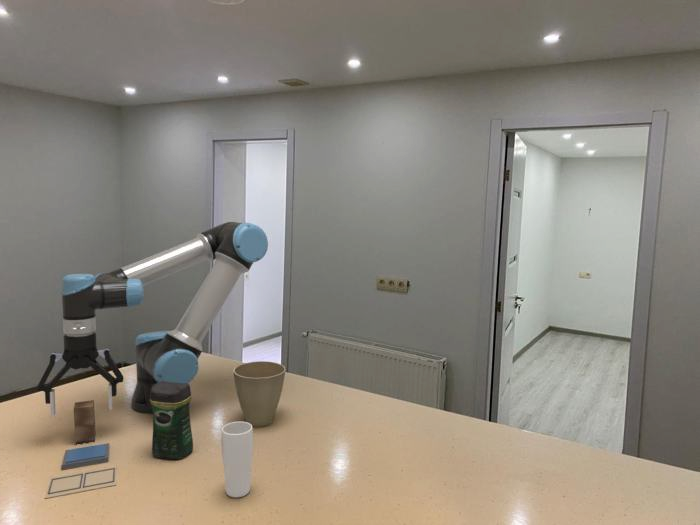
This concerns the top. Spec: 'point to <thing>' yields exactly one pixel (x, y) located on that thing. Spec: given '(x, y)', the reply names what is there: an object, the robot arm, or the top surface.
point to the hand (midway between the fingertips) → (82, 411)
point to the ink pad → (86, 456)
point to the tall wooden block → (84, 422)
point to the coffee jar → (171, 420)
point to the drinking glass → (237, 457)
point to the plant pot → (259, 390)
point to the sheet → (81, 481)
